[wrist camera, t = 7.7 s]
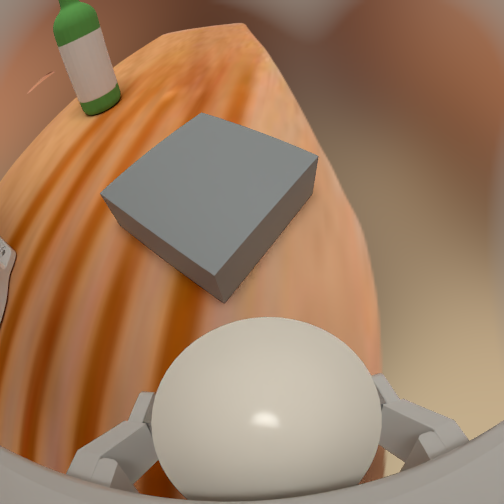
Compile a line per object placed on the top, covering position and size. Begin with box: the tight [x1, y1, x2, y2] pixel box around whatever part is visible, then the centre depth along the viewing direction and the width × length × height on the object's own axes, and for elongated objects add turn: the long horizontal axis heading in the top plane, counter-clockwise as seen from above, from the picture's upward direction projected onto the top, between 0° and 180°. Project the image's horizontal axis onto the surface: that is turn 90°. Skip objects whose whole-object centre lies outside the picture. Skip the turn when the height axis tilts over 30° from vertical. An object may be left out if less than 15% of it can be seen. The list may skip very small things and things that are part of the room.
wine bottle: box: [53, 0, 120, 115], centre depth 30 cm, size 8×8×30 cm
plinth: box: [100, 113, 318, 303], centre depth 26 cm, size 14×14×5 cm
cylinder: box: [151, 317, 382, 502], centre depth 9 cm, size 6×6×8 cm
